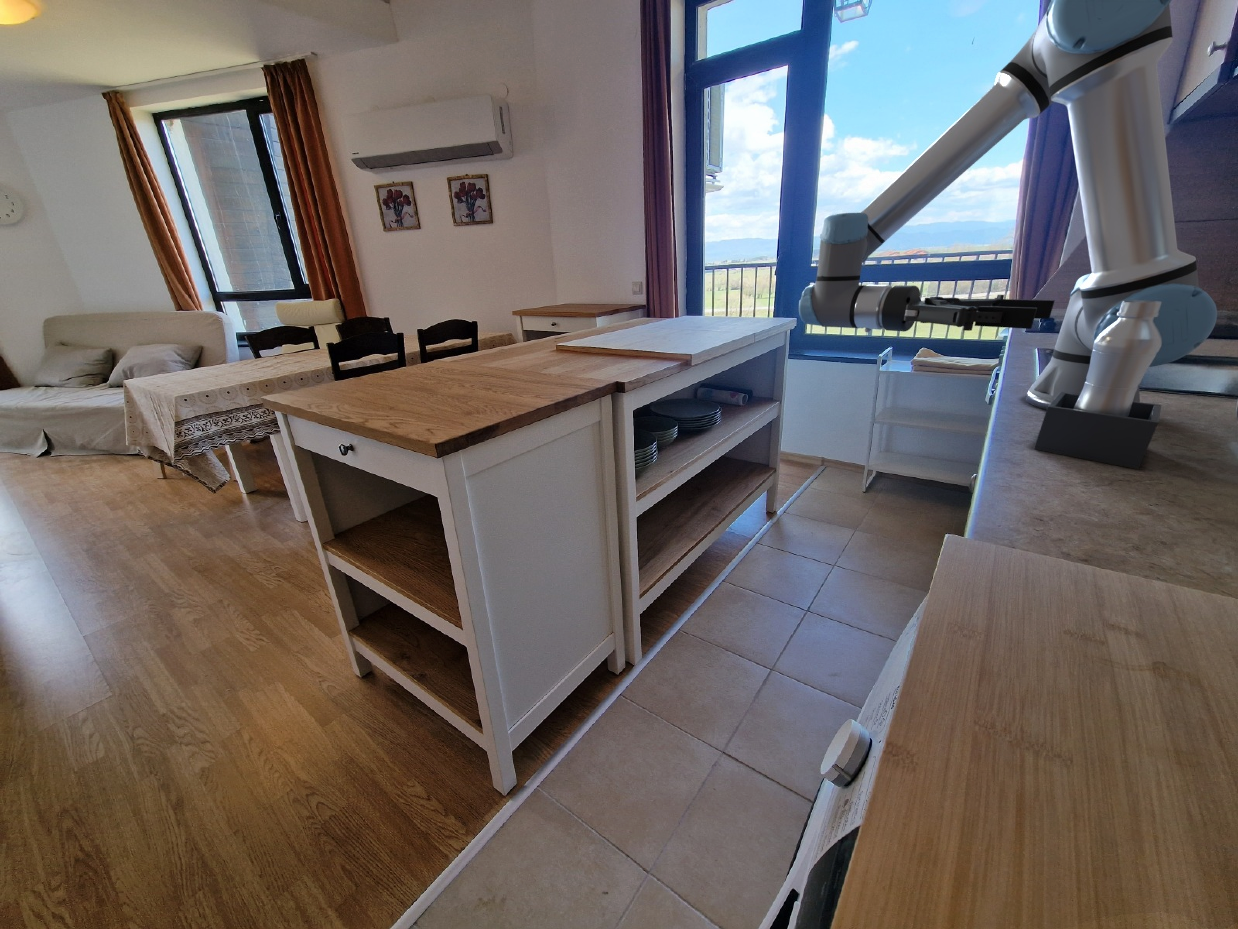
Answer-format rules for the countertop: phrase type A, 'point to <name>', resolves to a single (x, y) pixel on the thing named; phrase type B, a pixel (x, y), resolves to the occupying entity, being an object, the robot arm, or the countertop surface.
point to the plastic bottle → (1121, 359)
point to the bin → (1098, 432)
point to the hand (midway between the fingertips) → (1043, 313)
